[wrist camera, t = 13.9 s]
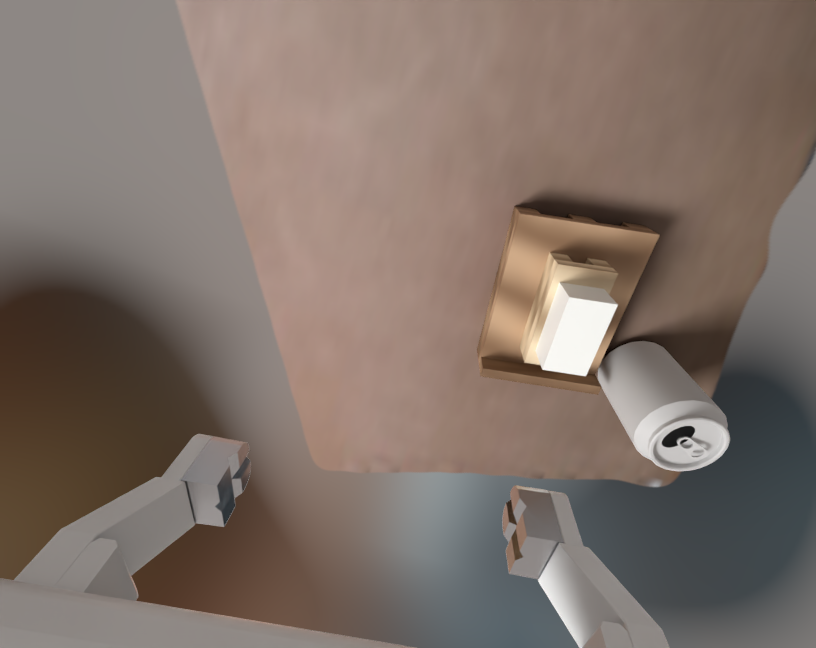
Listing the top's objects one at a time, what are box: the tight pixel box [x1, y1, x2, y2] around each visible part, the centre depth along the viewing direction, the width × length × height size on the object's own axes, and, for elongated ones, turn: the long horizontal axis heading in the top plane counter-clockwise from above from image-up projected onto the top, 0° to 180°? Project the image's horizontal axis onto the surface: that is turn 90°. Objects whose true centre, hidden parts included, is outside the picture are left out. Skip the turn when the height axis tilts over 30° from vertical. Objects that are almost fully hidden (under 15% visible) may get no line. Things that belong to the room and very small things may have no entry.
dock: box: [477, 206, 660, 395], centre depth 37 cm, size 16×12×5 cm
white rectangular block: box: [535, 282, 618, 376], centre depth 33 cm, size 7×4×3 cm, turn 173°
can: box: [598, 341, 730, 471], centre depth 38 cm, size 8×8×12 cm
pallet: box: [519, 252, 618, 365], centre depth 35 cm, size 10×5×3 cm, turn 173°
